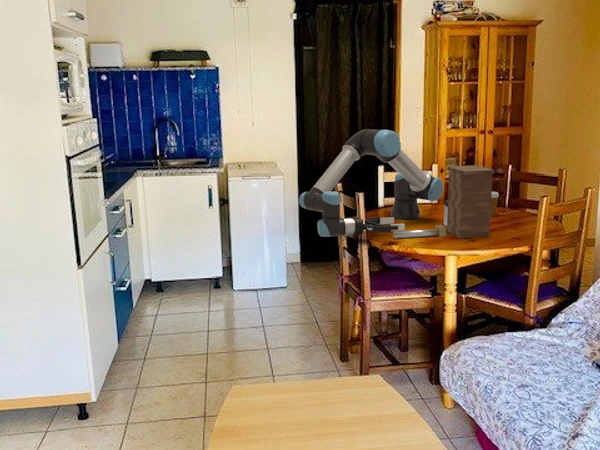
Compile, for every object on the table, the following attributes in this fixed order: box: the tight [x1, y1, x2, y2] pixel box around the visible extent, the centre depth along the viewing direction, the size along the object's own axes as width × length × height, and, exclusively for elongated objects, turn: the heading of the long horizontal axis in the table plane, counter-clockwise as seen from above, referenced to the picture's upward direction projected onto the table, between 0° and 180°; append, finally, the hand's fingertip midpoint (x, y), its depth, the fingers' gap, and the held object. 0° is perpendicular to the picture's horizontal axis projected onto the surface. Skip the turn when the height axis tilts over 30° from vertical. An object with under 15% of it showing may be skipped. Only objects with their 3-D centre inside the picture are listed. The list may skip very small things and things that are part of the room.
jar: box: [443, 199, 448, 227], centre depth 289 cm, size 9×8×12 cm
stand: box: [446, 164, 496, 239], centre depth 269 cm, size 18×14×30 cm
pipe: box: [393, 224, 448, 240], centre depth 268 cm, size 4×24×4 cm, turn 100°
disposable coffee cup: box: [490, 191, 500, 218], centre depth 309 cm, size 10×10×12 cm
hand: (399, 223), depth 265 cm, fingers open, 13 cm apart
